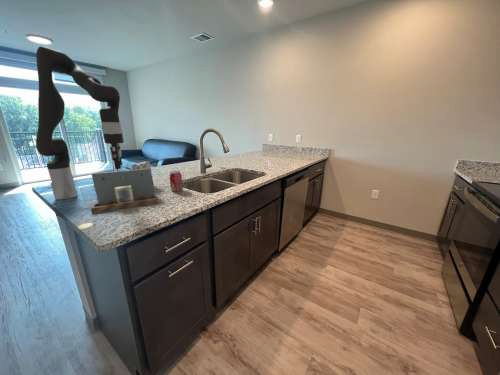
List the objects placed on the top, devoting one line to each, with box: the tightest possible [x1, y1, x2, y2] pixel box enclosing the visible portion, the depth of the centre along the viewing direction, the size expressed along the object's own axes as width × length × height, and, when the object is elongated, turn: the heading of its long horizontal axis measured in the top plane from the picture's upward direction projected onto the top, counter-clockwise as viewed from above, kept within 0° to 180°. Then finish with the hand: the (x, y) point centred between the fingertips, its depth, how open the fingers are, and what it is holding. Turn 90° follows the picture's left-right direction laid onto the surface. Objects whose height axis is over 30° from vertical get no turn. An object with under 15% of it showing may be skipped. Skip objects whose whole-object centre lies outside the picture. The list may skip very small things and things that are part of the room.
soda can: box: [169, 170, 184, 193], centre depth 127 cm, size 7×7×12 cm
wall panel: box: [91, 169, 155, 203], centre depth 112 cm, size 27×3×16 cm, turn 117°
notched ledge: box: [90, 194, 158, 214], centre depth 105 cm, size 28×7×3 cm, turn 117°
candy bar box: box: [131, 161, 154, 185], centre depth 132 cm, size 11×5×16 cm, turn 168°
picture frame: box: [115, 185, 134, 203], centre depth 104 cm, size 7×3×10 cm, turn 118°
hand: (119, 167), depth 99 cm, fingers open, 8 cm apart
